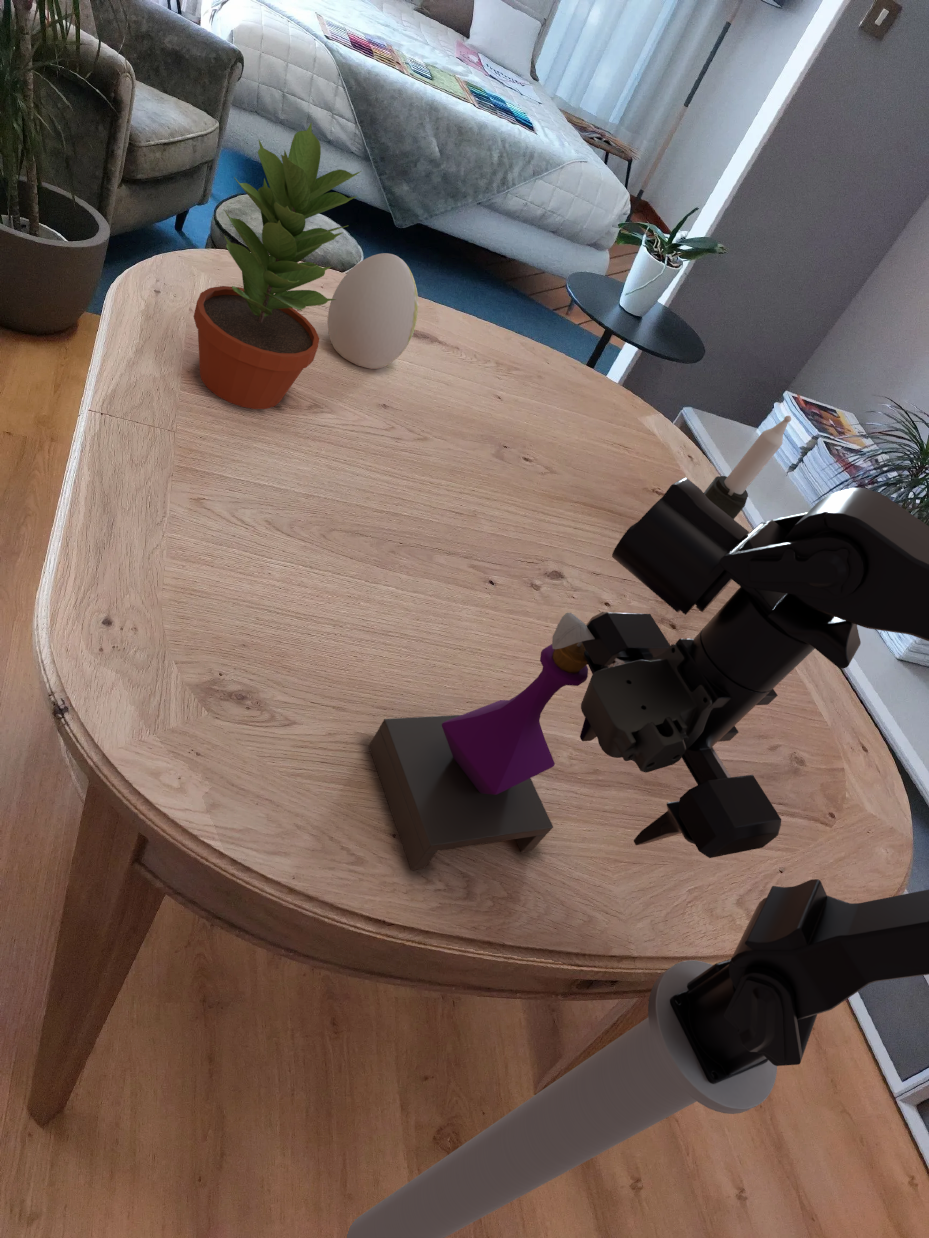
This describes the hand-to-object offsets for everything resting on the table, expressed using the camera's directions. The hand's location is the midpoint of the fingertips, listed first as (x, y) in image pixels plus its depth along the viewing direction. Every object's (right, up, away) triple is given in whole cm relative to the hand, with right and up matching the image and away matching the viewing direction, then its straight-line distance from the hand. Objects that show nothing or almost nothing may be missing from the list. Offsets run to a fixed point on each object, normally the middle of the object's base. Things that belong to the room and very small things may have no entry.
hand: (610, 788), depth 63 cm
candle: (+19, +21, +58) cm, 64 cm away
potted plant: (-39, +42, +41) cm, 70 cm away
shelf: (-12, -3, +10) cm, 16 cm away
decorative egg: (-27, +52, +60) cm, 83 cm away
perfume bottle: (-10, 0, +9) cm, 13 cm away
